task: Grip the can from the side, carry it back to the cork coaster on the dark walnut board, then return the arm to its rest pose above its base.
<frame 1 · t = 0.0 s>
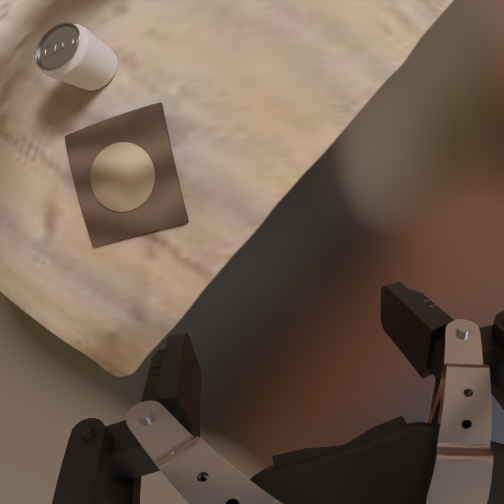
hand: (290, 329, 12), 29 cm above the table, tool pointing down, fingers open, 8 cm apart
can: (97, 69, 31), on the table
rest board: (124, 176, 36), on the table
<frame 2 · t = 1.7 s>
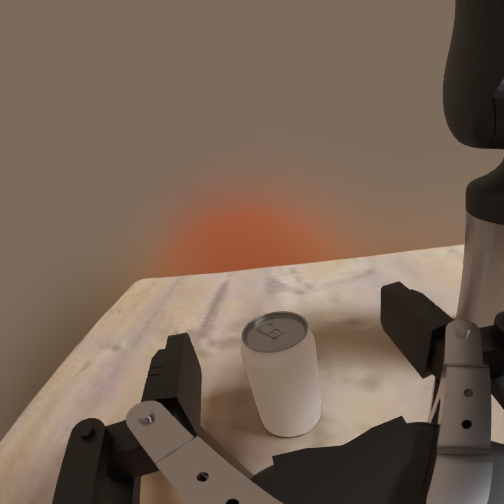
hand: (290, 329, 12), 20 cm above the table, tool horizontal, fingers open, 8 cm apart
can: (291, 416, 29), on the table
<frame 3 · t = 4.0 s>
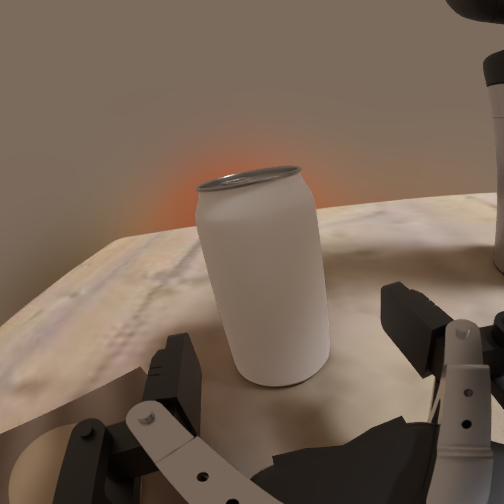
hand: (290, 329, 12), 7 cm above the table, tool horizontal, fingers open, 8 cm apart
can: (283, 358, 20), on the table
rest board: (79, 492, 10), on the table
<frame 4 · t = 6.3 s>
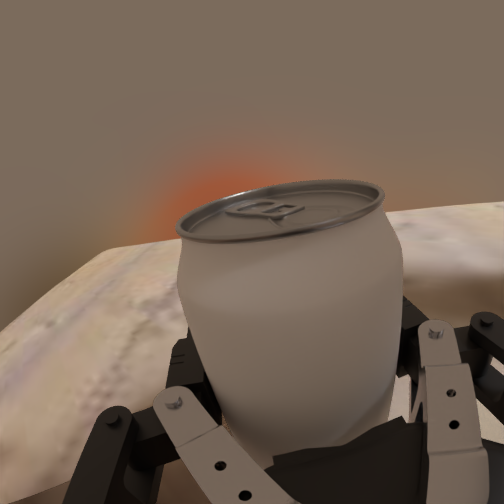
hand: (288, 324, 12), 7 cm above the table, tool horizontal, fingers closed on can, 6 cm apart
can: (314, 453, 12), on the table, touching gripper
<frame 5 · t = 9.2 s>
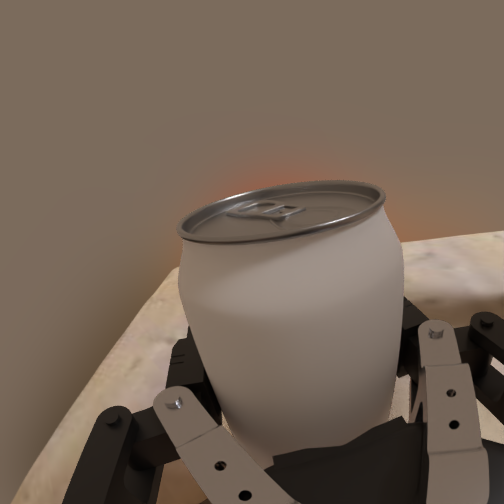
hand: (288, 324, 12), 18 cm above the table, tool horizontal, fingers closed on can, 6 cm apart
can: (314, 453, 12), point 11 cm above the table, touching gripper
when the fingers open (9 cm above the table, at t = 12.0 s): can drops 1 cm, resting on rest board.
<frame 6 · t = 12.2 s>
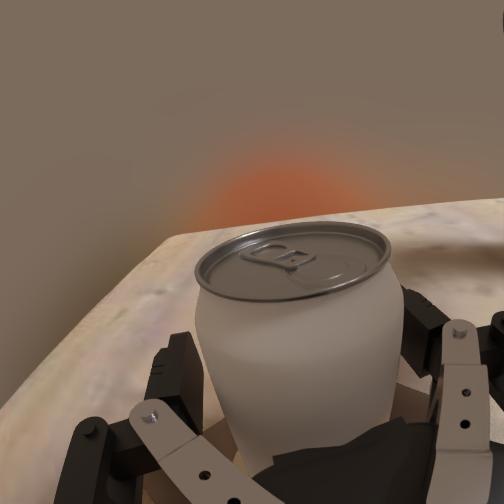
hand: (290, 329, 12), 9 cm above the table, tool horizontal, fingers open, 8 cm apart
can: (314, 468, 13), point 1 cm above the table, touching rest board
rest board: (315, 475, 13), on the table
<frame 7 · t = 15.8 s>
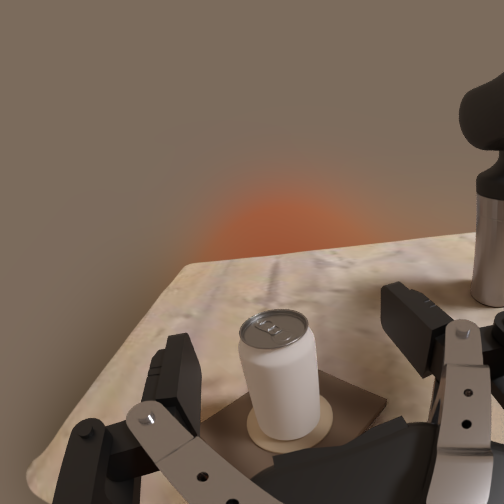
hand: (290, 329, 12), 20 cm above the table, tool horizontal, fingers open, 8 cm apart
can: (289, 419, 28), point 1 cm above the table, touching rest board
rest board: (290, 425, 28), on the table
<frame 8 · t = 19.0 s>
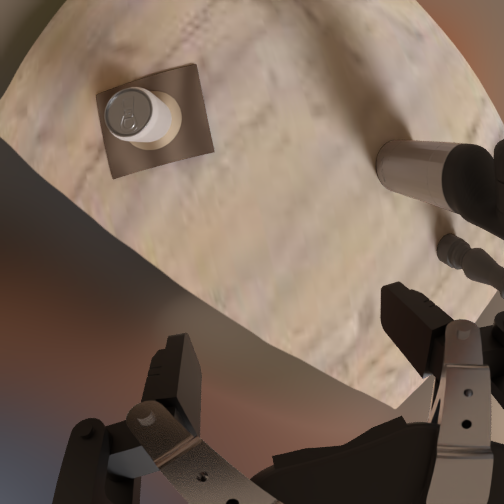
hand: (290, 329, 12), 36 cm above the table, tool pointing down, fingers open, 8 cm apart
candle holder: (446, 247, 53), on the table
can: (150, 120, 39), point 1 cm above the table, touching rest board
rest board: (153, 120, 40), on the table
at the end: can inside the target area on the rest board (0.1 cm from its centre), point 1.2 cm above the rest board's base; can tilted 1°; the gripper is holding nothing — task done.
